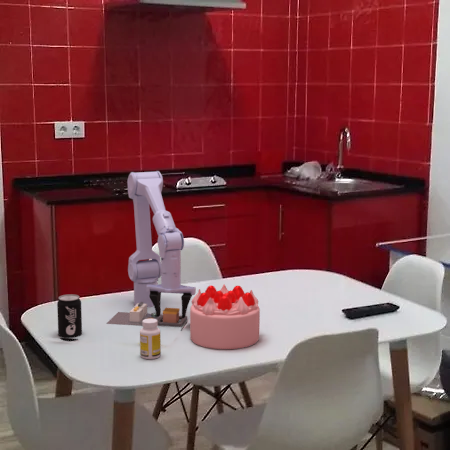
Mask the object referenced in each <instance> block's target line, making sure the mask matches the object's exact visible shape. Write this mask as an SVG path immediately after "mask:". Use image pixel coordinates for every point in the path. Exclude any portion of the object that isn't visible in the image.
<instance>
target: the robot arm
mask: <svg viewBox="0 0 450 450" xmlns="http://www.w3.org/2000/svg"><path fill="white" fill-rule="evenodd" d="M163 187H164V179H163V175H162V174H161V172H160V171H159V170H156V171H144V172H143V171H142V172H139V171H138V172H134V171H131V172H130V173H129V174H128V178H127V194H128V198H129V199H131V200H132V202H133V210H134V213H133V214H134V225H135V242H136V244H135V245H136V250H135V252H133V253H132V254H131V255H130V256H129V257H128V265H127V272H128V277H129V279H130V280H131V282H133V305H134V306H135V305H136V304H137V303H140V302H143V304H147V308H151V307H153V308H154V310H155V313H156V315H157V317H159V316H160V315H161V313H162V309H161V297H162V293H163V294H164V293H165V294H181V296H180V298H181V300H180V301H181V316H182V318H185V317H186V316H187V310H188V307H189V304H190V301H191V300H192V297H193V296H196V293H197V292H196V289H197V288H196V286H189V285H183V284H182V283H181V282H182V281H181V280H182V277H181V274H182V273H181V271H182V269H181V268H182V267H181V264H182V263H181V260H182V259H181V257H182V256H181V251H183V250H184V248H185V238H184V234H183V232H182V231H181V230H180V229H179V228H177V227H176V224H175V222H174V219H173V216H172V213H171V212H170V211H168V210H166V206H165V204H164V200H163V196H162V191H163ZM150 208H151V211H152V212H153V216H152V223H153V225H154V228H155V230H156V233H157V236H158V237H157V246H158V250H159V252H158V253H159V254H158V253H157V252H155V251H154V250H153V244H152V230H151V229H152V226H151V214H150V213H151V211H150ZM159 279H161V280H160V281H161V283H160V284H159V283H158V282H159Z"/></svg>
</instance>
